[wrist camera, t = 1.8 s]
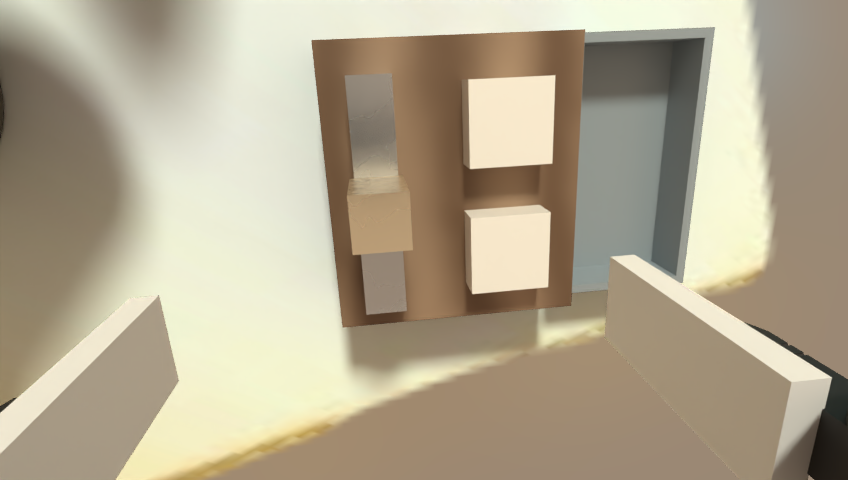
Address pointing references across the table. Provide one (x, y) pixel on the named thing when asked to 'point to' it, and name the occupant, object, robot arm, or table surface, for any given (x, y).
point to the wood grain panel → (451, 162)
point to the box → (638, 149)
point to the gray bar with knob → (377, 193)
